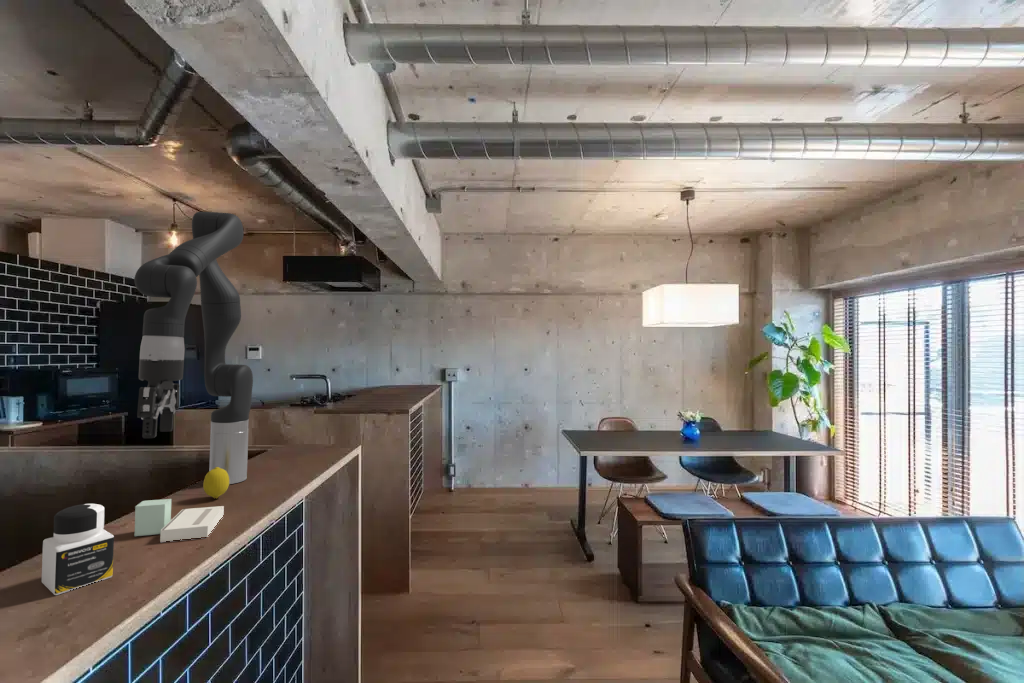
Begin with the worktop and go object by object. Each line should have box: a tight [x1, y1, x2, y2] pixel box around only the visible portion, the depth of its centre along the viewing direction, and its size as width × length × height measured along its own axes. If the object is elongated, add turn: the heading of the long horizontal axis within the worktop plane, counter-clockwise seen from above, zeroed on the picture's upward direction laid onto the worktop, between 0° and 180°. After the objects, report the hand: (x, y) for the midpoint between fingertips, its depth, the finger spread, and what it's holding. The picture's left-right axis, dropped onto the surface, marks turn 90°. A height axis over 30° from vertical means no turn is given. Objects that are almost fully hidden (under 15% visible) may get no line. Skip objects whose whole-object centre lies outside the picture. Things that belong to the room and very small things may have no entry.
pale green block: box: [133, 498, 172, 537], centre depth 94 cm, size 4×5×6 cm
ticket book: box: [159, 505, 225, 543], centre depth 97 cm, size 12×8×2 cm, turn 19°
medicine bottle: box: [41, 503, 115, 596], centre depth 75 cm, size 7×7×12 cm
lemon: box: [202, 467, 230, 499], centre depth 115 cm, size 6×6×8 cm
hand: (158, 434), depth 96 cm, fingers open, 8 cm apart
